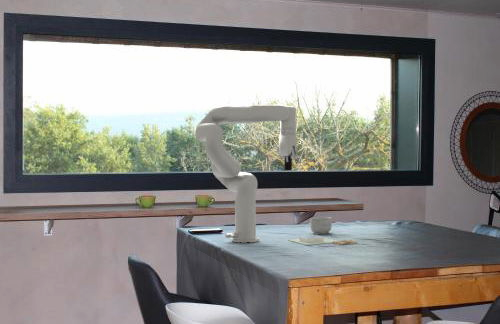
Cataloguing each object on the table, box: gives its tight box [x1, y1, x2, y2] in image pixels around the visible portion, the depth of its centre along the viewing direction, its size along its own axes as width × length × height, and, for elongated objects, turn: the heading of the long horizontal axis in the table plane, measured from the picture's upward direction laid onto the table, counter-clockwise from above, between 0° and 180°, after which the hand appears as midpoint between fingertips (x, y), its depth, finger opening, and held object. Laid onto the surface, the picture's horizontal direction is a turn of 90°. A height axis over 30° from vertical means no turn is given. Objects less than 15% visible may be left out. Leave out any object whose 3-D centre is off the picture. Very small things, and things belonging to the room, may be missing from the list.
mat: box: [287, 237, 337, 246], centre depth 309 cm, size 18×16×1 cm
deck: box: [298, 234, 325, 243], centre depth 306 cm, size 9×2×6 cm
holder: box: [332, 239, 358, 246], centre depth 302 cm, size 10×5×1 cm, turn 117°
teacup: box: [309, 216, 333, 235], centre depth 337 cm, size 14×11×8 cm
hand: (288, 170), depth 323 cm, fingers closed
